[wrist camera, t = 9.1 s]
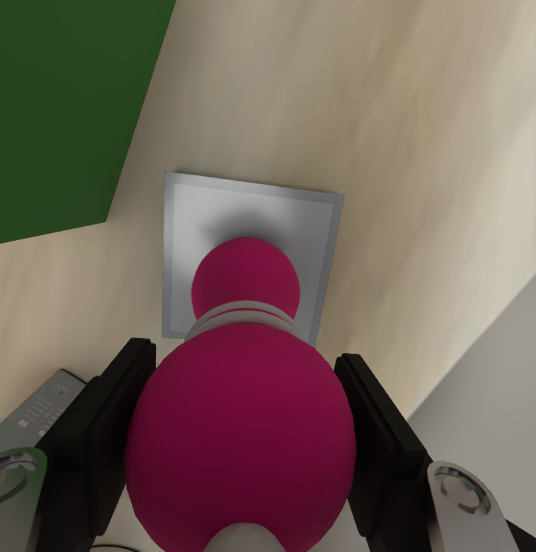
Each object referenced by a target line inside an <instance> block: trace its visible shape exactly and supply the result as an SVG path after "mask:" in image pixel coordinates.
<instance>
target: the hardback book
mask: <svg viewBox="0 0 536 552" xmlns="http://www.w3.org/2000/svg"><path fill="white" fill-rule="evenodd" d="M175 2H176V0H0V244H1V243H6V242H11V241H15V240H20V239H25V238H30V237H35V236H40V235H45V234H50V233H54V232H59V231H64V230H69V229H74V228H79V227H84V226H89V225H93V224H98V223H103V222H105V221H106V218H107V215H108V212H109V209H110V205H111V202H112V199H113V196H114V193H115V190H116V187H117V184H118V180H119V177H120V174H121V171H122V168H123V165H124V162H125V158H126V155H127V152H128V149H129V146H130V143H131V140H132V137H133V133H134V130H135V127H136V124H137V121H138V118H139V115H140V111H141V108H142V105H143V102H144V99H145V96H146V93H147V90H148V86H149V83H150V80H151V77H152V74H153V71H154V68H155V64H156V61H157V58H158V55H159V52H160V49H161V46H162V43H163V39H164V36H165V33H166V30H167V27H168V24H169V21H170V17H171V14H172V11H173V8H174V5H175Z"/></svg>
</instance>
